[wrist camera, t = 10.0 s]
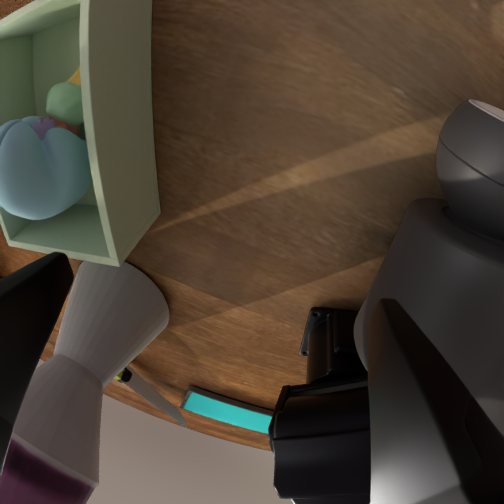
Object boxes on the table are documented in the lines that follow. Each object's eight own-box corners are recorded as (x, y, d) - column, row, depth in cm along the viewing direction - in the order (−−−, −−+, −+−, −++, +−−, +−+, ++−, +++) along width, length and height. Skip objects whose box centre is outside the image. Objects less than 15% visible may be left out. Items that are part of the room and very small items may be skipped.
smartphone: (188, 390, 36) (294, 421, 37) (190, 384, 37) (295, 416, 38) (179, 408, 40) (272, 435, 42) (181, 403, 41) (273, 431, 42)
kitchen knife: (193, 411, 42) (189, 427, 40) (187, 412, 43) (183, 428, 40) (83, 318, 33) (72, 335, 30) (78, 320, 33) (67, 337, 31)
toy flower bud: (70, 38, 8) (32, 266, 14) (159, 48, 15) (104, 201, 21) (-16, 24, 7) (-36, 215, 13) (79, 26, 14) (41, 167, 20)
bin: (161, 213, 22) (119, 267, 17) (54, 205, 23) (8, 246, 18) (153, -8, 13) (91, -25, 8) (32, 29, 14) (-31, 40, 9)
